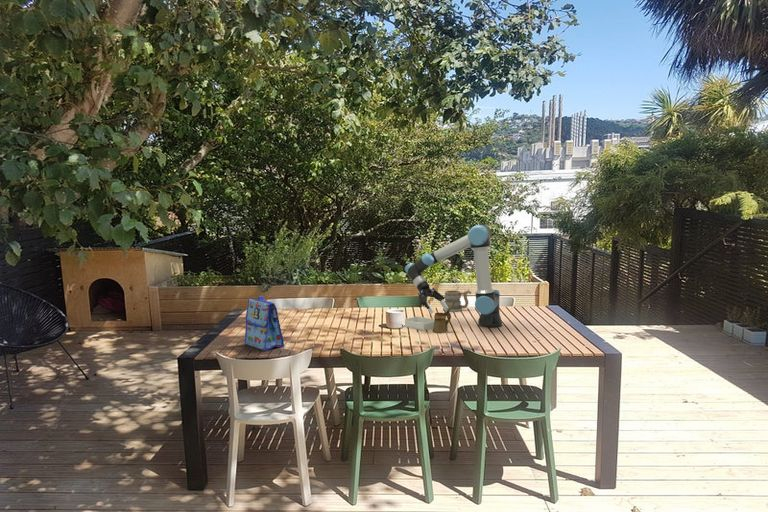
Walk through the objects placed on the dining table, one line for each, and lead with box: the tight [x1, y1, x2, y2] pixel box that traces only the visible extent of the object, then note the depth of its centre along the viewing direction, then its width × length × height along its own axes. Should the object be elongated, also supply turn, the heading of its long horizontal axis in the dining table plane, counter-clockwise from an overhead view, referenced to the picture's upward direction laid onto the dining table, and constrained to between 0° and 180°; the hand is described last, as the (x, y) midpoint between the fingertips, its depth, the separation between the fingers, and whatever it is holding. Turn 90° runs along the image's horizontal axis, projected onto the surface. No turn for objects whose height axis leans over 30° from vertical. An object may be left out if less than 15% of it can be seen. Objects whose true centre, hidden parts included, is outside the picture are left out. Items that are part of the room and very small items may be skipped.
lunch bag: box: [244, 295, 285, 352], centre depth 305 cm, size 22×14×29 cm, turn 45°
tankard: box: [443, 289, 472, 313], centre depth 390 cm, size 20×13×15 cm, turn 73°
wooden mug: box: [432, 303, 455, 334], centre depth 329 cm, size 9×14×18 cm, turn 84°
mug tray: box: [403, 315, 435, 332], centre depth 344 cm, size 20×15×4 cm
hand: (439, 310), depth 330 cm, fingers open, 13 cm apart
